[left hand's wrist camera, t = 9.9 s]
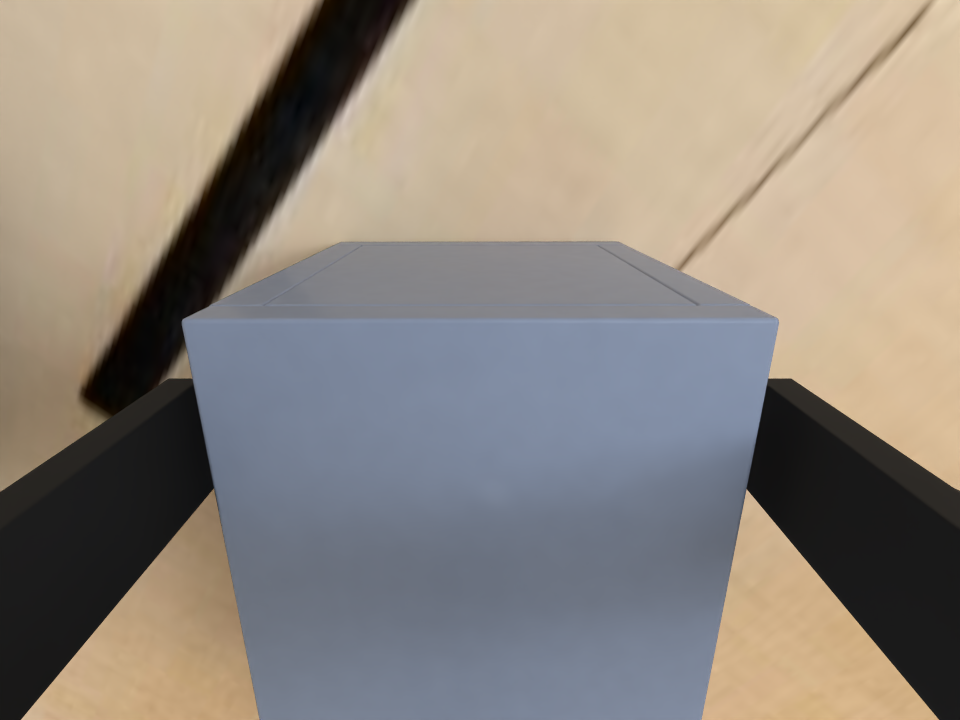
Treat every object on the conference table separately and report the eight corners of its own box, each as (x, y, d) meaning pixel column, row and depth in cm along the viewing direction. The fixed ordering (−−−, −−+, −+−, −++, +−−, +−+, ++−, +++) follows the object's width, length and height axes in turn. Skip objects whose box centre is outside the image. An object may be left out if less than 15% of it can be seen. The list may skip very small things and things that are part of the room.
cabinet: (588, 601, 26) (666, 906, 15) (371, 602, 26) (295, 907, 15) (619, 241, 20) (782, 317, 9) (339, 241, 20) (178, 318, 9)
